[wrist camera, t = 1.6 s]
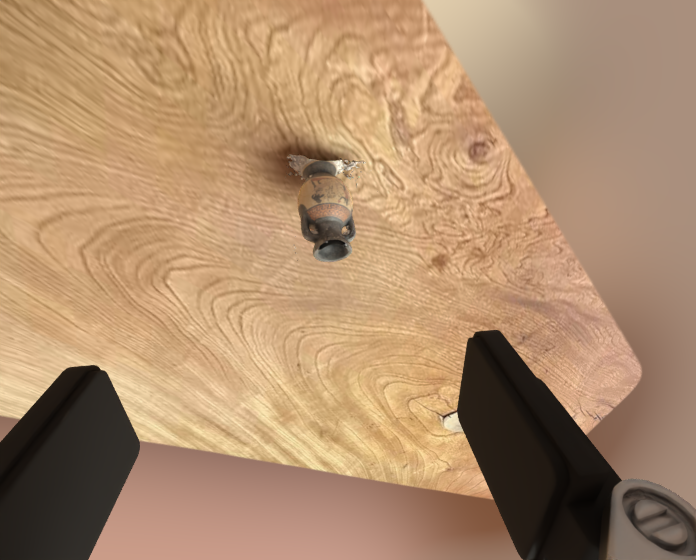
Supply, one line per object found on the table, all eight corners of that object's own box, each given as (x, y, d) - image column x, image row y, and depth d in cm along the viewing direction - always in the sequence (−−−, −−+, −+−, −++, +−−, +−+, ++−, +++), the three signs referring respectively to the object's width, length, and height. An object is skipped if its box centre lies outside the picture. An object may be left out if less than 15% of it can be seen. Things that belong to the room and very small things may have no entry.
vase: (358, 236, 26) (369, 273, 21) (284, 230, 26) (276, 267, 20) (368, 160, 24) (384, 181, 19) (286, 152, 23) (279, 171, 18)
